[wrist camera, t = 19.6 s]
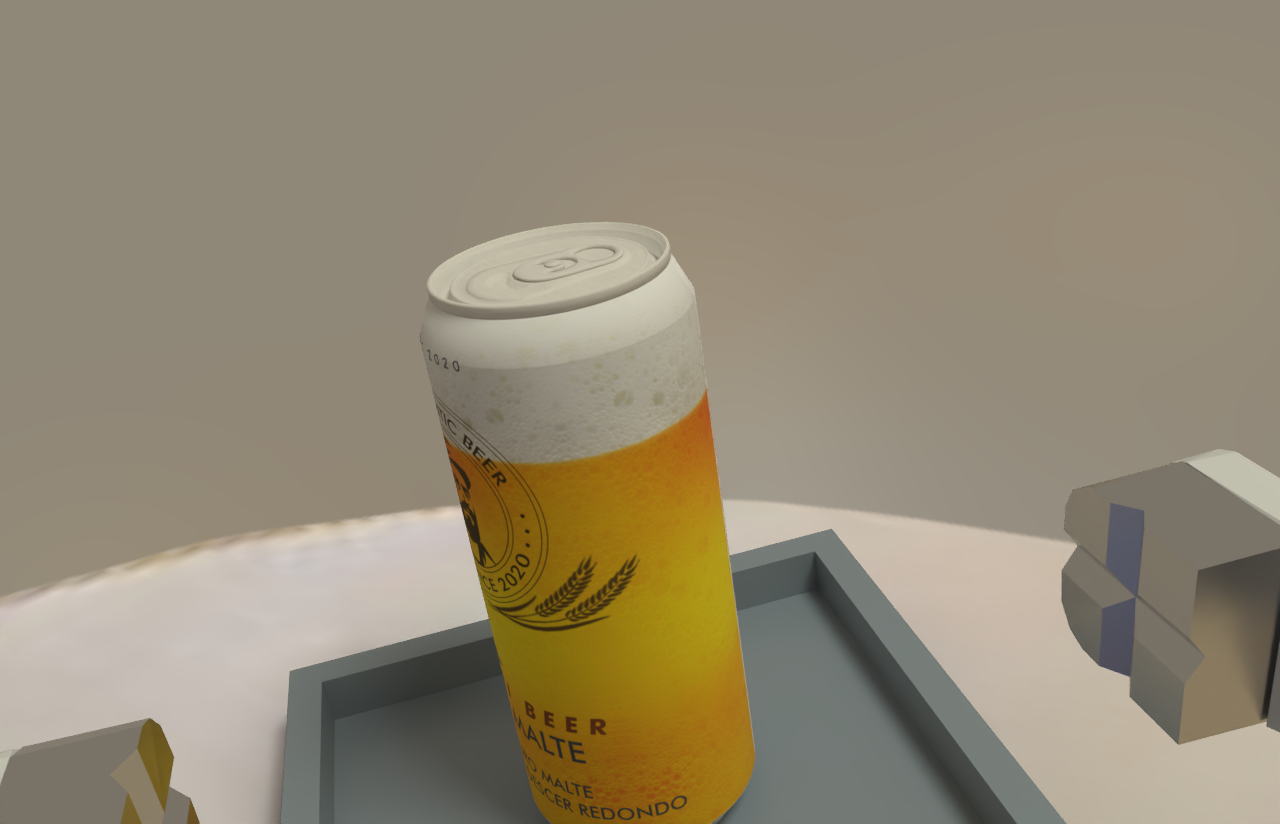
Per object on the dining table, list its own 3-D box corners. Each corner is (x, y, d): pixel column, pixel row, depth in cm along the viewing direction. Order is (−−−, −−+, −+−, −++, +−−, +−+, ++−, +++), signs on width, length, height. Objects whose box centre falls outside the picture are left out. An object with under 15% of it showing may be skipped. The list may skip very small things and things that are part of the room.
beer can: (503, 765, 33) (375, 266, 26) (689, 680, 35) (612, 200, 28) (592, 912, 28) (460, 340, 21) (802, 803, 30) (741, 253, 23)
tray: (295, 1257, 22) (258, 1180, 21) (311, 733, 37) (289, 671, 36) (1119, 976, 25) (1124, 896, 24) (837, 590, 39) (831, 528, 38)
